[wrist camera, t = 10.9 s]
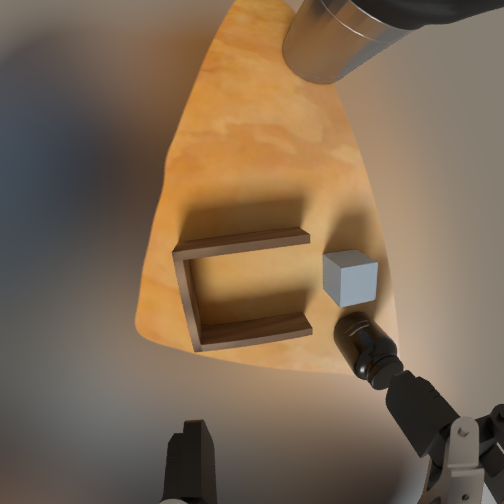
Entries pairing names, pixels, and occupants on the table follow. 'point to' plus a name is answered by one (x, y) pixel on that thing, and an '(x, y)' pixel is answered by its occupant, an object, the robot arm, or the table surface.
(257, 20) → the table surface
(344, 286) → the slate block
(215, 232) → the table surface
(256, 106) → the table surface
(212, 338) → the brown three-sided frame
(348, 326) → the supplement bottle
